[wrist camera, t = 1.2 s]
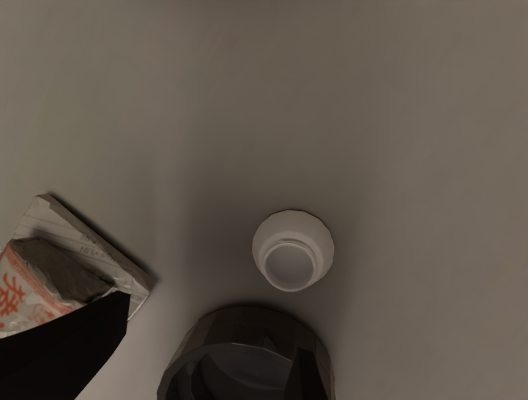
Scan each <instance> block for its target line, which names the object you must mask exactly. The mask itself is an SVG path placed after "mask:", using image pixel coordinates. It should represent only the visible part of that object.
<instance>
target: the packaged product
mask: <svg viewBox="0 0 528 400" xmlns="http://www.w3.org/2000/svg"><path fill="white" fill-rule="evenodd" d="M156 282H157V281H156V280H154V279H153V278H152V277H150V276H149V275H148V274H147V273H145V272H144V271H143V270H142V269H140V268H139V267H138V266H136V265H135V264H134V263H133V262H131V261H130V260H129V259H128V258H126V257H125V256H124V255H122V254H121V253H120V252H119V251H117V250H116V249H115V248H114V247H112V246H111V245H110V244H109V243H108V242H106V241H105V240H104V239H103V238H101V237H100V236H99V235H98V234H96V233H95V232H94V231H93V230H91V229H90V228H89V227H88V226H86V225H85V224H84V223H83V222H82V221H80V220H79V219H78V218H77V217H75V216H74V215H73V214H72V213H70V212H69V211H68V210H67V209H66V208H65V207H64V206H62V205H61V204H60V203H59V202H58V201H57V200H55V199H54V198H53V197H52V196H51V195H50V194H42V195H36V196H34V199H33V201H32V203H31V205H30V207H29V209H28V210H27V212H26V213H25V214H24V215H23V217H22V219H21V221H20V223H19V225H18V226H17V229H16V231H15V234H14V235H13V237H12V239H11V240H10V241H9V242H8V243H7V245H6V247H5V248H4V249H3V251H2V253H1V255H0V338H4V337H7V336H10V335H14V334H16V333H19V332H22V331H25V330H28V329H31V328H34V327H36V326H39V325H42V324H44V323H46V322H49V321H51V320H54V319H56V318H58V317H61V316H63V315H66V314H68V313H70V312H72V311H74V310H77V309H79V308H81V307H83V306H85V305H87V304H89V303H92V302H94V301H96V300H98V299H100V298H102V297H104V296H106V295H108V294H110V293H112V292H114V291H117V290H119V291H122V292H125V293H128V294H131V298H130V306H129V314H128V321H129V319H130V318H131V317H132V316H133V315H134V314H135V312H136V311H137V310H138V309H139V308H140V306H141V305H142V304H143V303H144V301H145V300H146V298H147V296H148V295H149V293H150V292H151V290H152V288H153V287H154V285H155V283H156Z"/></svg>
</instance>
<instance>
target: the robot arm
mask: <svg viewBox="0 0 528 400" xmlns="http://www.w3.org/2000/svg"><path fill="white" fill-rule="evenodd" d="M130 298H131V294H128V293H125V292H122V291H119V290H117V291H114V292H112V293H110V294H108V295H106V296H104V297H102V298H100V299H98V300H96V301H94V302H92V303H89V304H87V305H85V306H83V307H81V308H79V309H77V310H74V311H72V312H70V313H68V314H66V315H63V316H61V317H58V318H56V319H54V320H51V321H49V322H46V323H44V324H42V325H39V326H36V327H34V328H31V329H28V330H25V331H22V332H19V333H16V334H14V335H10V336H7V337H4V338H0V400H75V398H76V397H77V396H78V395H79V394H80V392H81V391H82V390H83V389H84V388H85V387H86V385H87V384H88V383H89V382H90V381H91V380H92V378H93V377H94V376H95V375H96V374H97V372H98V371H99V370H100V369H101V368H102V367H103V365H104V364H105V363H106V362H107V361H108V359H109V358H110V357H111V356H112V354H113V353H114V351H115V350H116V348H117V347H118V345H119V344H120V342H121V341H122V339H123V338H124V336H125V334H126V330H127V322H128V314H129V306H130ZM283 400H329V399H328V396H327V393H326V391H325V388H324V385H323V382H322V378H321V375H320V372H319V368H318V365H317V361H316V357H315V354H314V352H312V351H309V350H306V349H303V348H300V347H298V350H297V353H296V356H295V359H294V362H293V365H292V368H291V371H290V374H289V377H288V380H287V382H286V385H285V391H284V397H283Z"/></svg>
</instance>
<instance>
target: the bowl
mask: <svg viewBox="0 0 528 400" xmlns="http://www.w3.org/2000/svg"><path fill="white" fill-rule="evenodd" d="M298 347H300V348H303V349H306V350H309V351H312V352H314V354H315V357H316V361H317V365H318V368H319V372H320V375H321V378H322V382H323V385H324V388H325V391H326V393H327V396H328V399H329V400H336V396H335V378H334V374H333V370H332V366H331V362H330V358H329V356H328V354H327V353H326V351H325V350H324V348H323V347H322V345H321V344H320V342H319V341H318V339H317V338H316V337H315V336H314V335H313V334H312V333H310V332H309V331H308V330H307V329H305V328H304V327H303V326H302V325H301V324H299V323H298V322H297V321H295V320H294V319H291V318H289V317H287V316H285V315H282V314H280V313H278V312H275V311H273V310H270V309H263V308H256V307H250V306H245V307H244V306H241V307H234V308H226V309H221V310H218V311H216V312H214V313H212V314H210V315H208V316H206V317H204V318H202V319H200V320H199V321H198V322H197V323H196V324H195V325H194V326H193V327H192V328H191V329H190V330H189V331H188V332H187V333H186V335H185V337H184V339H183V340H182V342H181V344H180V345H179V347H178V349H177V351H176V352H175V354H174V356H173V358H172V359H171V361H170V363H169V364H168V366H167V368H166V370H165V371H164V374H163V376H162V379H161V382H160V385H159V387H158V390H157V400H283V397H284V391H285V385H286V382H287V380H288V377H289V374H290V371H291V368H292V365H293V362H294V359H295V356H296V353H297V350H298Z"/></svg>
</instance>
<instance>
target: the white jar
mask: <svg viewBox="0 0 528 400" xmlns="http://www.w3.org/2000/svg"><path fill="white" fill-rule="evenodd" d="M334 249H335V248H334V244H333V240H332V237H331V234H330V231H329V230H328V229H327V228H326V227H325V225H324V224H323V223H322V222H321V221H320V220H319V219H318V218H316V217H314V216H312V215H310V214H308V213H306V212H303V211H294V210H286V211H282V212H279V213H275V214H272V215H271V216H270V217H268V218H267V219H266V220H265V221H263V222H262V223H261V224H260V226H259V228H258V229H257V231H256V233H255V235H254V237H253V243H252V255H253V257H254V260H255V263H256V265H257V268H258V269H259V270H260V272H261V273H262V274H263V275H264V276H265V277H266V279H267V280H268V282H269V283H270V284H271V285H273V286H274V287H276V288H277V289H280V290H282V291H287V292H296V291H300V290H303V289H305V288H307V287H309V286H310V285H312V284H313V283H315V282H316V281H318V280H319V279H321V278H322V277H324V276H325V275H326V273H327V271H328V270H329V268H330V267H331V265H332V264H333V257H334Z"/></svg>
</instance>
